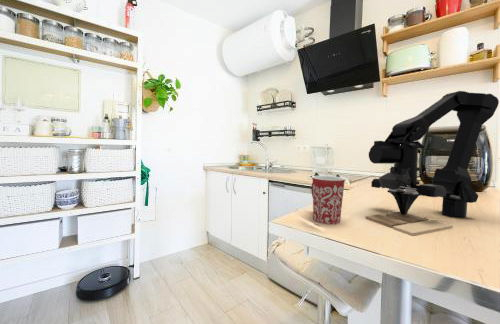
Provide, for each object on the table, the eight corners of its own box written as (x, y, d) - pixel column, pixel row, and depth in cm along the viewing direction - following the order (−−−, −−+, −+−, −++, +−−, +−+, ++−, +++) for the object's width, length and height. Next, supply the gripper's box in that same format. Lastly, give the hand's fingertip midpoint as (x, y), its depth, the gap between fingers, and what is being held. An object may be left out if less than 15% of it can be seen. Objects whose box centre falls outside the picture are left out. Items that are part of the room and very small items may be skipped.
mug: (350, 228, 59) (352, 179, 58) (319, 230, 57) (321, 179, 56) (326, 214, 71) (328, 174, 70) (300, 215, 70) (301, 174, 69)
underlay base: (399, 216, 70) (399, 211, 70) (452, 232, 57) (452, 225, 57) (362, 221, 64) (362, 215, 64) (412, 240, 51) (412, 233, 51)
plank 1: (379, 216, 66) (379, 214, 66) (406, 225, 59) (407, 222, 59) (365, 218, 64) (365, 216, 64) (391, 227, 57) (391, 224, 57)
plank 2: (399, 213, 69) (400, 211, 69) (428, 221, 62) (428, 218, 62) (386, 215, 67) (386, 213, 67) (414, 224, 60) (414, 221, 60)
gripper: (360, 162, 71) (358, 209, 72) (422, 166, 54) (419, 227, 55) (383, 162, 76) (382, 206, 76) (448, 165, 58) (445, 222, 59)
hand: (403, 214), depth 66 cm, fingers closed, pressing on plank 2
